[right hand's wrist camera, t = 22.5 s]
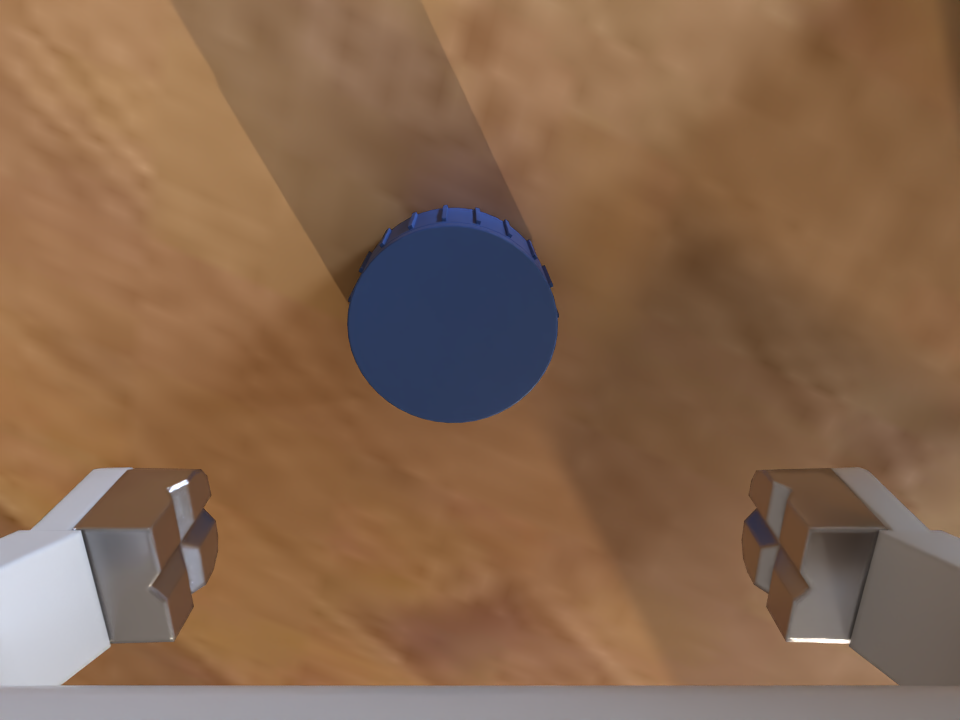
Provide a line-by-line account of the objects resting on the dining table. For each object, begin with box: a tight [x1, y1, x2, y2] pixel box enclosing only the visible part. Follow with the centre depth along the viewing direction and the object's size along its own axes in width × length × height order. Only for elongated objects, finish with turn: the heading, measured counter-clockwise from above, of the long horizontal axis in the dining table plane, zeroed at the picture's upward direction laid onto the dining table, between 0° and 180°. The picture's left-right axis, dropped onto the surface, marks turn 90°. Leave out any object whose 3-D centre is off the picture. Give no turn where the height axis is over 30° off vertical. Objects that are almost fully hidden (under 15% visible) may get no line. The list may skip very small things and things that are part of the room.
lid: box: [347, 205, 559, 423], centre depth 17 cm, size 5×5×2 cm
